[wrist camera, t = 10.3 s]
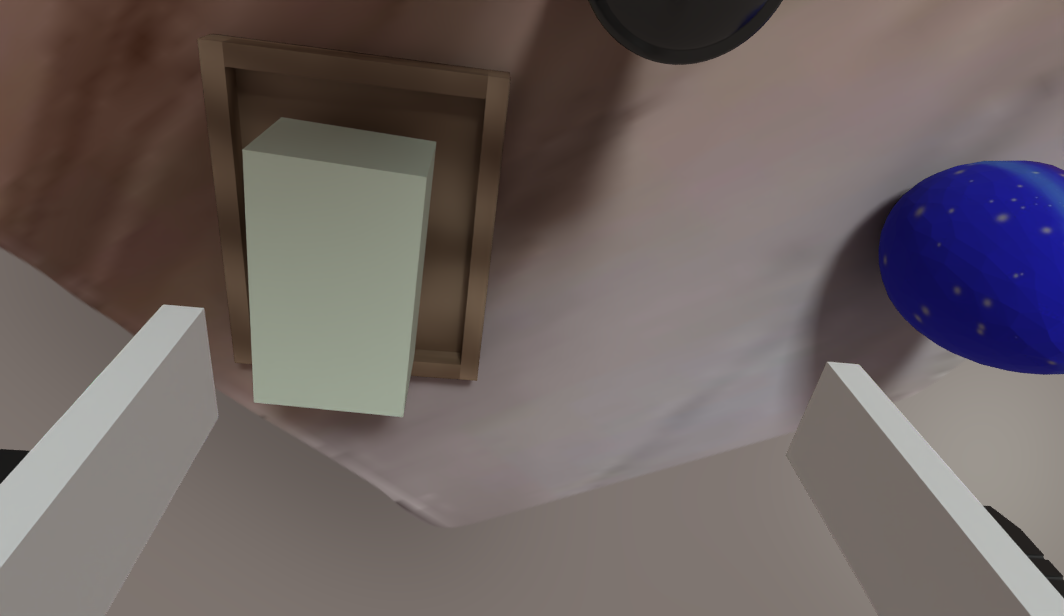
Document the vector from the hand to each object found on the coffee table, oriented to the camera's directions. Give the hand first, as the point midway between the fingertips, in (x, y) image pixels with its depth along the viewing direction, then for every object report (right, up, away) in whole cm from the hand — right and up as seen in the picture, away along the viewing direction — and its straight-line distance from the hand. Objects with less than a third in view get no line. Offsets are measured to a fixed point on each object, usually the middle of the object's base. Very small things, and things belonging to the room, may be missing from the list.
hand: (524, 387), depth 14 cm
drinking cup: (+5, +21, +19) cm, 29 cm away
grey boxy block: (-10, +5, +23) cm, 26 cm away
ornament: (+26, +7, +28) cm, 39 cm away
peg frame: (-10, +7, +26) cm, 29 cm away
